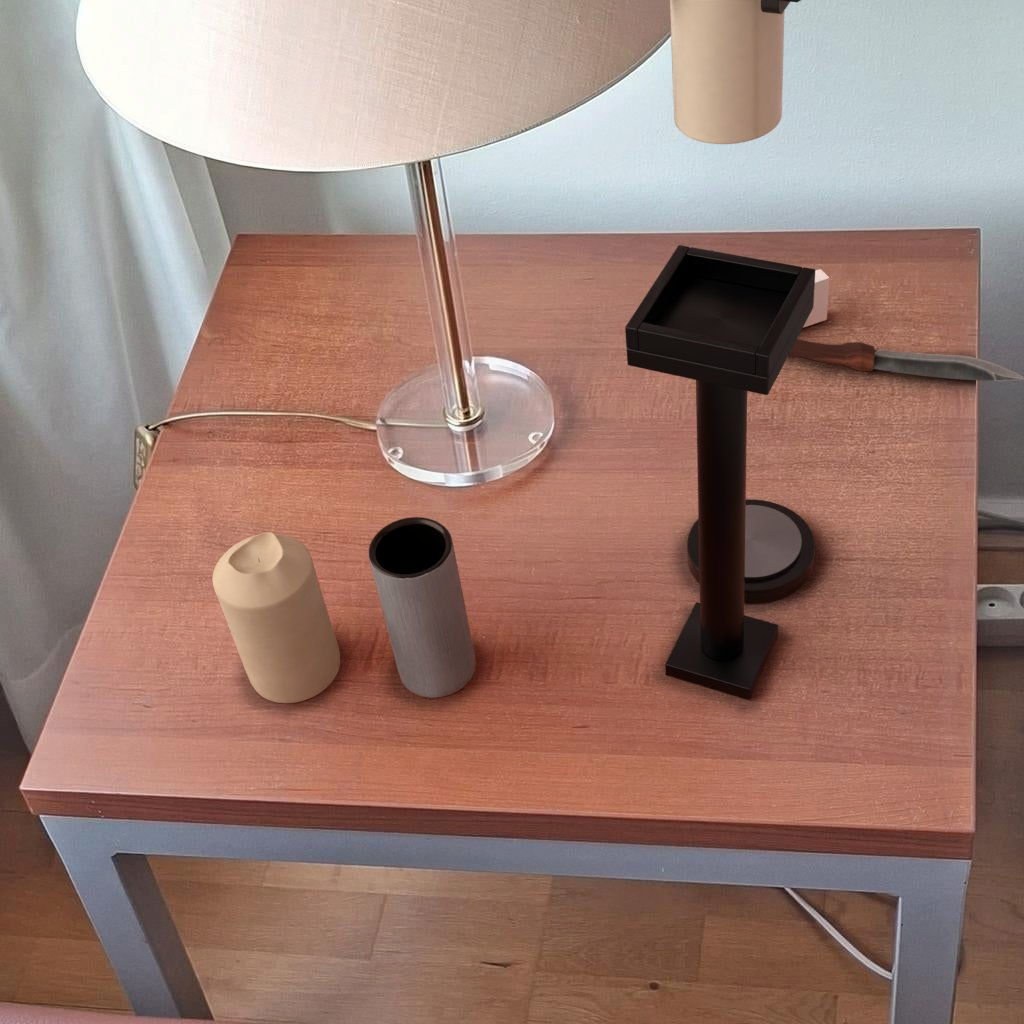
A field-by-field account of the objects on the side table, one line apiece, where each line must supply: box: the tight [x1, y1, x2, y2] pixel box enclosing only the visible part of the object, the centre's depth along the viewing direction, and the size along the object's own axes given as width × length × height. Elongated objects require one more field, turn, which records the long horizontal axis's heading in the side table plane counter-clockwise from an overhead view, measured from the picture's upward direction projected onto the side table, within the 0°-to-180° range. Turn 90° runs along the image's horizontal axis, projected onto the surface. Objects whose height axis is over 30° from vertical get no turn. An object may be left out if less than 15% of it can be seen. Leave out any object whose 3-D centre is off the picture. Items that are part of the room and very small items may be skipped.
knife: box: [788, 338, 1024, 382], centre depth 96 cm, size 18×2×3 cm
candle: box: [212, 531, 341, 704], centre depth 80 cm, size 6×6×10 cm
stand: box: [624, 244, 816, 701], centre depth 72 cm, size 7×7×25 cm
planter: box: [367, 516, 476, 698], centre depth 79 cm, size 4×4×10 cm
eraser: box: [802, 268, 830, 329], centre depth 100 cm, size 1×5×4 cm, turn 112°
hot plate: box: [686, 498, 816, 605], centre depth 85 cm, size 8×8×2 cm
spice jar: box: [669, 0, 786, 145], centre depth 55 cm, size 5×5×9 cm
